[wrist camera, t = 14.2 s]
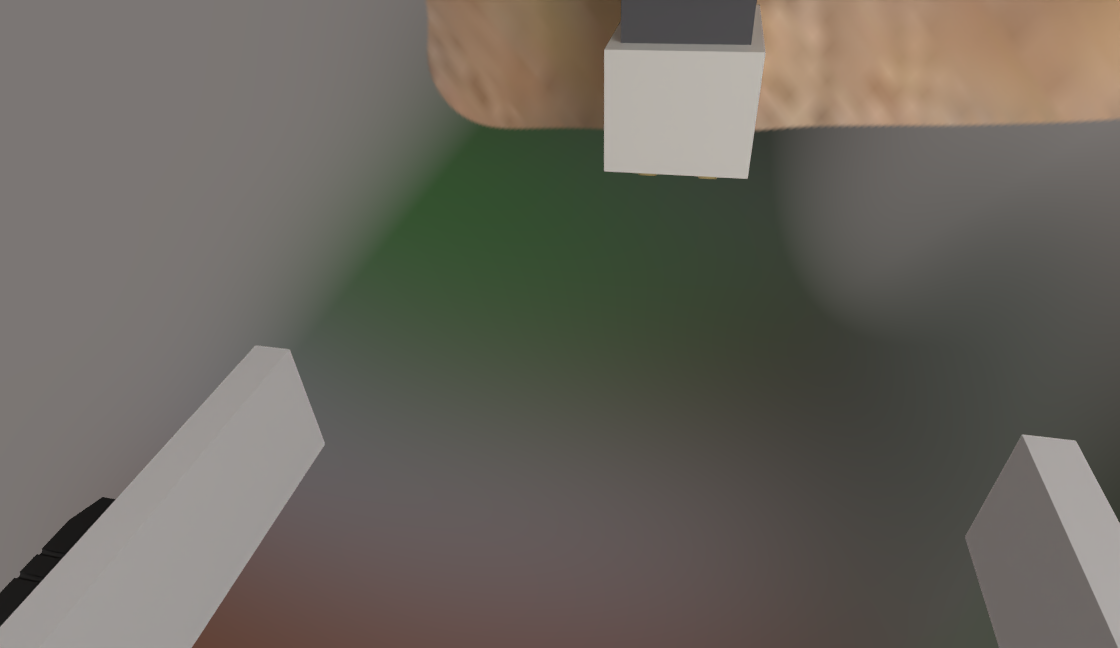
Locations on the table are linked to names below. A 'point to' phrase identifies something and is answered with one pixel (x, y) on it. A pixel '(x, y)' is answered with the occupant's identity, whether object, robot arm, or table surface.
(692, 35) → the plug
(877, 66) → the table surface
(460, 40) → the table surface
